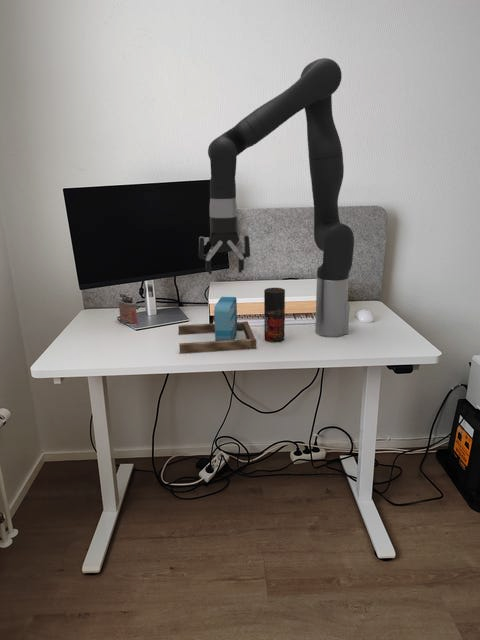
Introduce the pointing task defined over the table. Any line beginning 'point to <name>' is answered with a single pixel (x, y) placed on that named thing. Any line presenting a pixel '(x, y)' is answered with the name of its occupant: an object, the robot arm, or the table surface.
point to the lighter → (127, 309)
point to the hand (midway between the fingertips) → (224, 272)
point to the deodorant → (274, 315)
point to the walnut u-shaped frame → (216, 345)
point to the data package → (225, 319)
